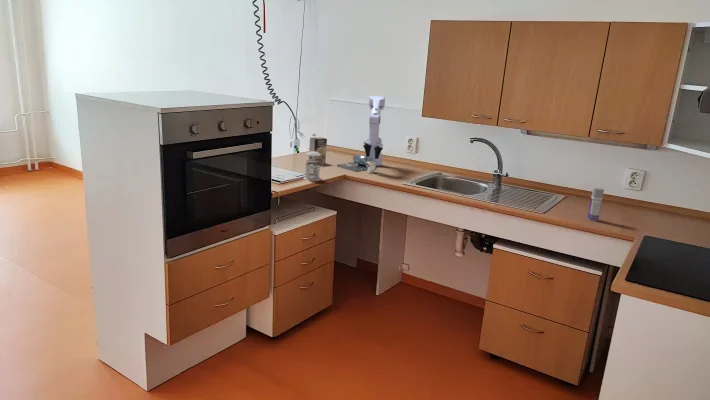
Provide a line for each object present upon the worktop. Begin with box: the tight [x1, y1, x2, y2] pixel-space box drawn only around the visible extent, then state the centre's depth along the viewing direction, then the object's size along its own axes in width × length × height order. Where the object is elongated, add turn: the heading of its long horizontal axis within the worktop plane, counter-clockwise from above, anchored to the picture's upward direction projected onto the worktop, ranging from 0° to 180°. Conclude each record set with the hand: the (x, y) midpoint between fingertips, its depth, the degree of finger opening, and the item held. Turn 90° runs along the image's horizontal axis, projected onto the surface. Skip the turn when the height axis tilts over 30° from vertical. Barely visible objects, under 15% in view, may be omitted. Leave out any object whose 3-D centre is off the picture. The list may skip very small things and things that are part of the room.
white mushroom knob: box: [366, 162, 376, 174], centre depth 315 cm, size 7×6×6 cm
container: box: [587, 186, 605, 222], centre depth 241 cm, size 5×5×15 cm
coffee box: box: [308, 137, 328, 165], centre depth 331 cm, size 9×6×16 cm
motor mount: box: [336, 153, 377, 172], centre depth 326 cm, size 18×17×7 cm
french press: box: [303, 133, 324, 182], centre depth 286 cm, size 10×12×25 cm
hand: (372, 157), depth 314 cm, fingers open, 7 cm apart
